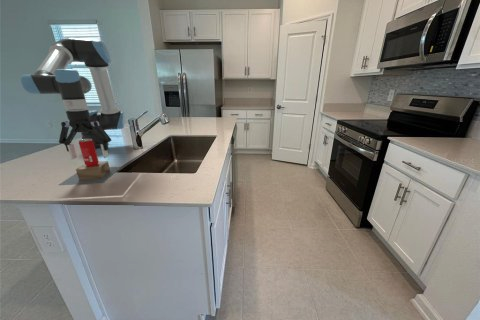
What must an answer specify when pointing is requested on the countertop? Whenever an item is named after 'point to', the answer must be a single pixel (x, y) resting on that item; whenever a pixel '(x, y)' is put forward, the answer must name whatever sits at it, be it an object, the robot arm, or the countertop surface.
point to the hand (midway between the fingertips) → (90, 157)
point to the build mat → (75, 179)
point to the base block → (93, 171)
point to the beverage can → (88, 152)
